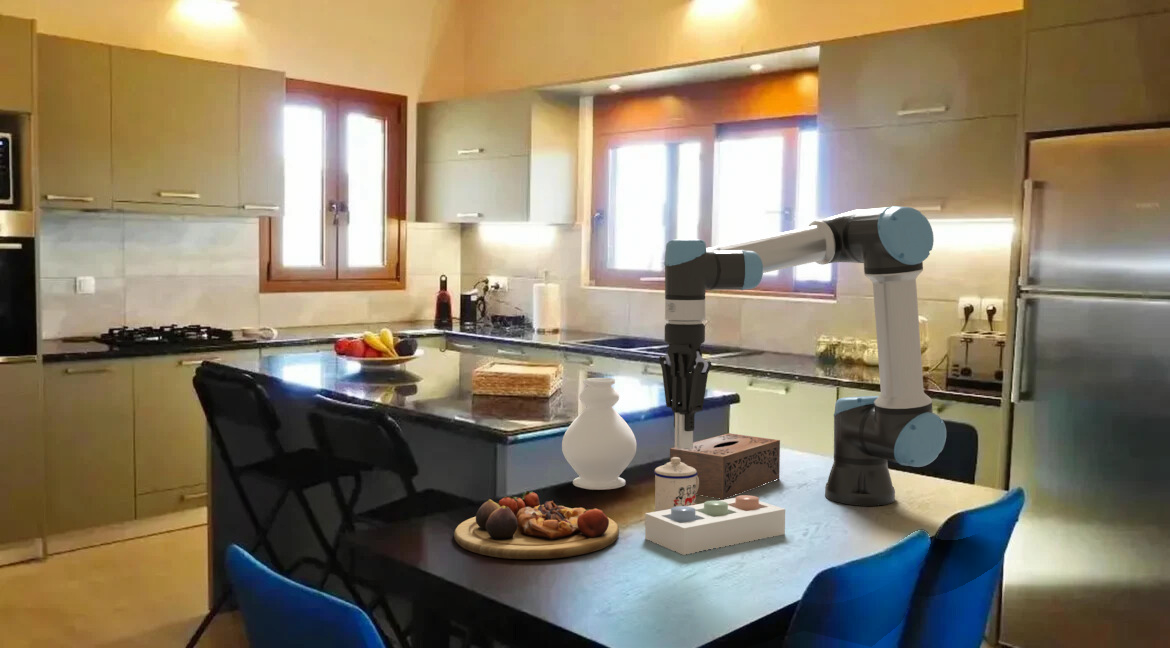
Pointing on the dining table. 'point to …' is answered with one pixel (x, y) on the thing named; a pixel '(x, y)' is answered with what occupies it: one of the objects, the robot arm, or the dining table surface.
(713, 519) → the tray
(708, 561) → the dining table surface
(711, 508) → the button sage
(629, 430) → the decorative vase
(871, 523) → the dining table surface
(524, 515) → the wooden plate with food
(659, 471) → the teacup with lid
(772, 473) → the tissue box cover
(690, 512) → the button slate
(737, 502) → the button terracotta
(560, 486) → the dining table surface
